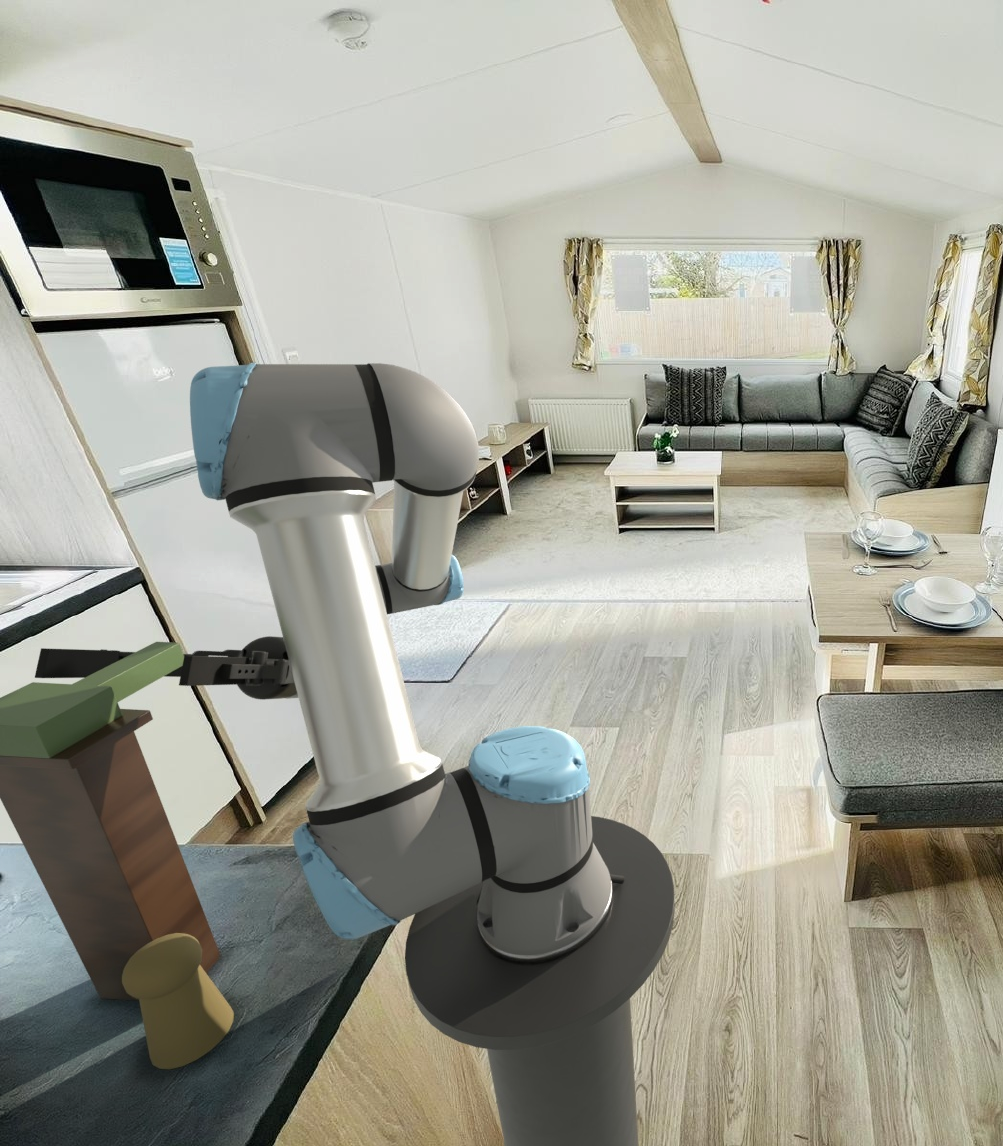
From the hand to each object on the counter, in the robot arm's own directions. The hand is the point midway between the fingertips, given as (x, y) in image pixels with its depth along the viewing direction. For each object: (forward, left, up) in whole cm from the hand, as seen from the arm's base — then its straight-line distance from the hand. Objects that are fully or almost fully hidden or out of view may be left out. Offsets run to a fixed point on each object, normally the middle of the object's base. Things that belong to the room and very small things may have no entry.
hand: (112, 666), depth 59 cm
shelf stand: (0, +6, -33) cm, 33 cm away
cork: (-8, +11, -33) cm, 36 cm away
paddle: (0, +2, -3) cm, 3 cm away
